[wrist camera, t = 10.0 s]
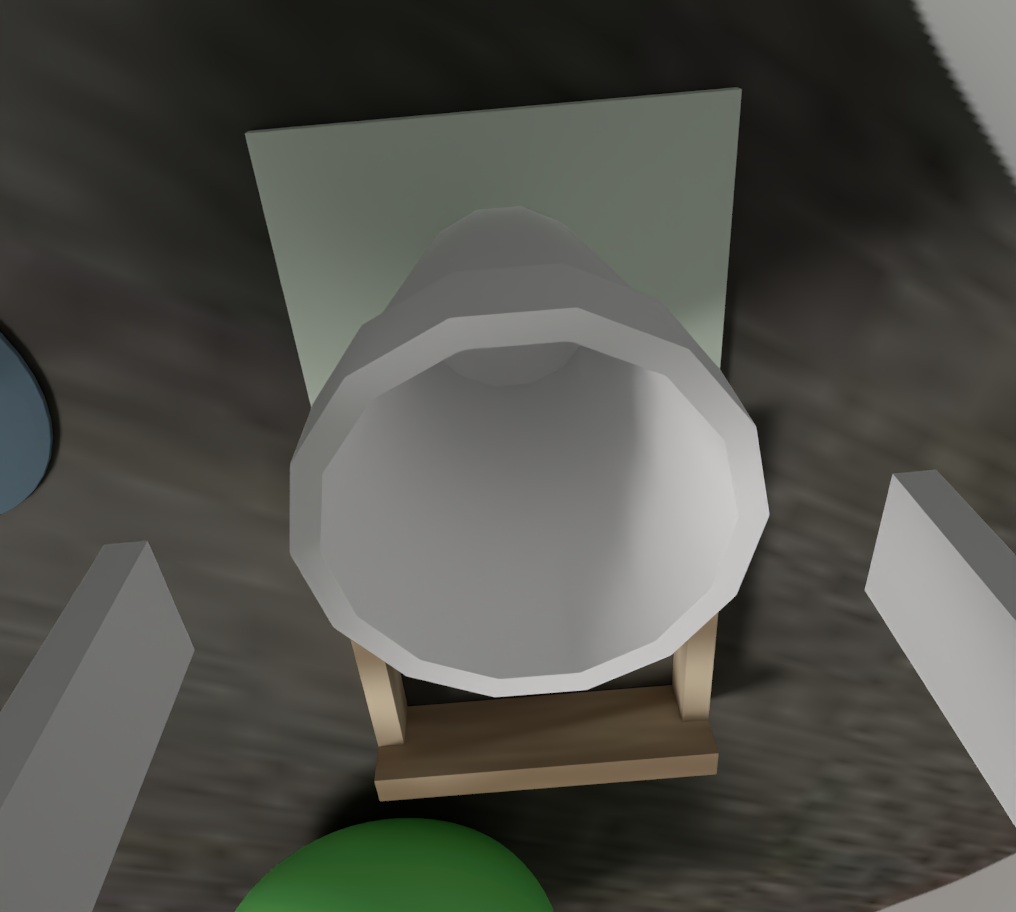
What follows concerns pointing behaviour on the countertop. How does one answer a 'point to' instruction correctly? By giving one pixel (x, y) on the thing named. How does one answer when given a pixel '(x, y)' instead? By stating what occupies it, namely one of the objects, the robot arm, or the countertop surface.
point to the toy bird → (400, 873)
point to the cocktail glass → (21, 429)
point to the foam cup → (524, 470)
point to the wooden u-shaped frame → (543, 733)
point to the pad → (500, 202)
